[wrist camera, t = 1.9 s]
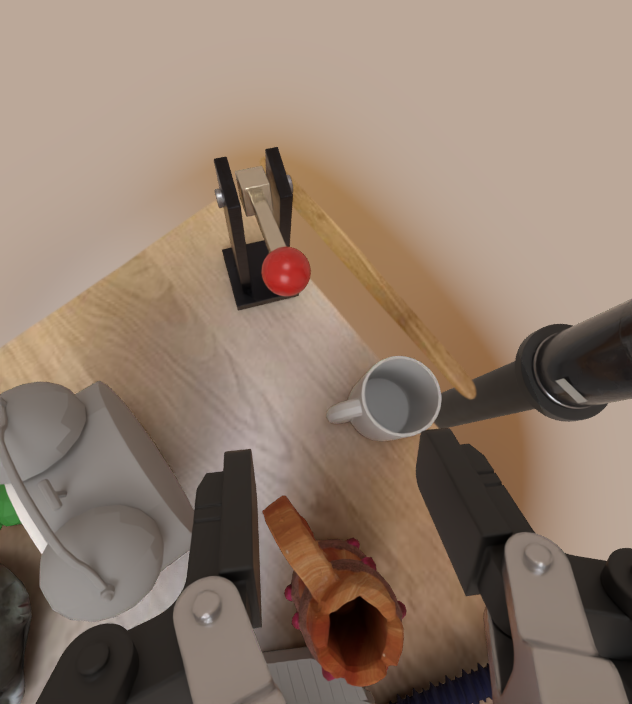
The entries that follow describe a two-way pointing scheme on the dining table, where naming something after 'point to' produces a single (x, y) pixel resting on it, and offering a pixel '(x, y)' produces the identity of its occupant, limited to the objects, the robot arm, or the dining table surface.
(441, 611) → the dining table surface
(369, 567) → the mug
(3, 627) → the lucky cat figurine
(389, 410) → the cup
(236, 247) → the switch bracket
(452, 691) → the screw
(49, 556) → the alarm clock
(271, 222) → the power lever
